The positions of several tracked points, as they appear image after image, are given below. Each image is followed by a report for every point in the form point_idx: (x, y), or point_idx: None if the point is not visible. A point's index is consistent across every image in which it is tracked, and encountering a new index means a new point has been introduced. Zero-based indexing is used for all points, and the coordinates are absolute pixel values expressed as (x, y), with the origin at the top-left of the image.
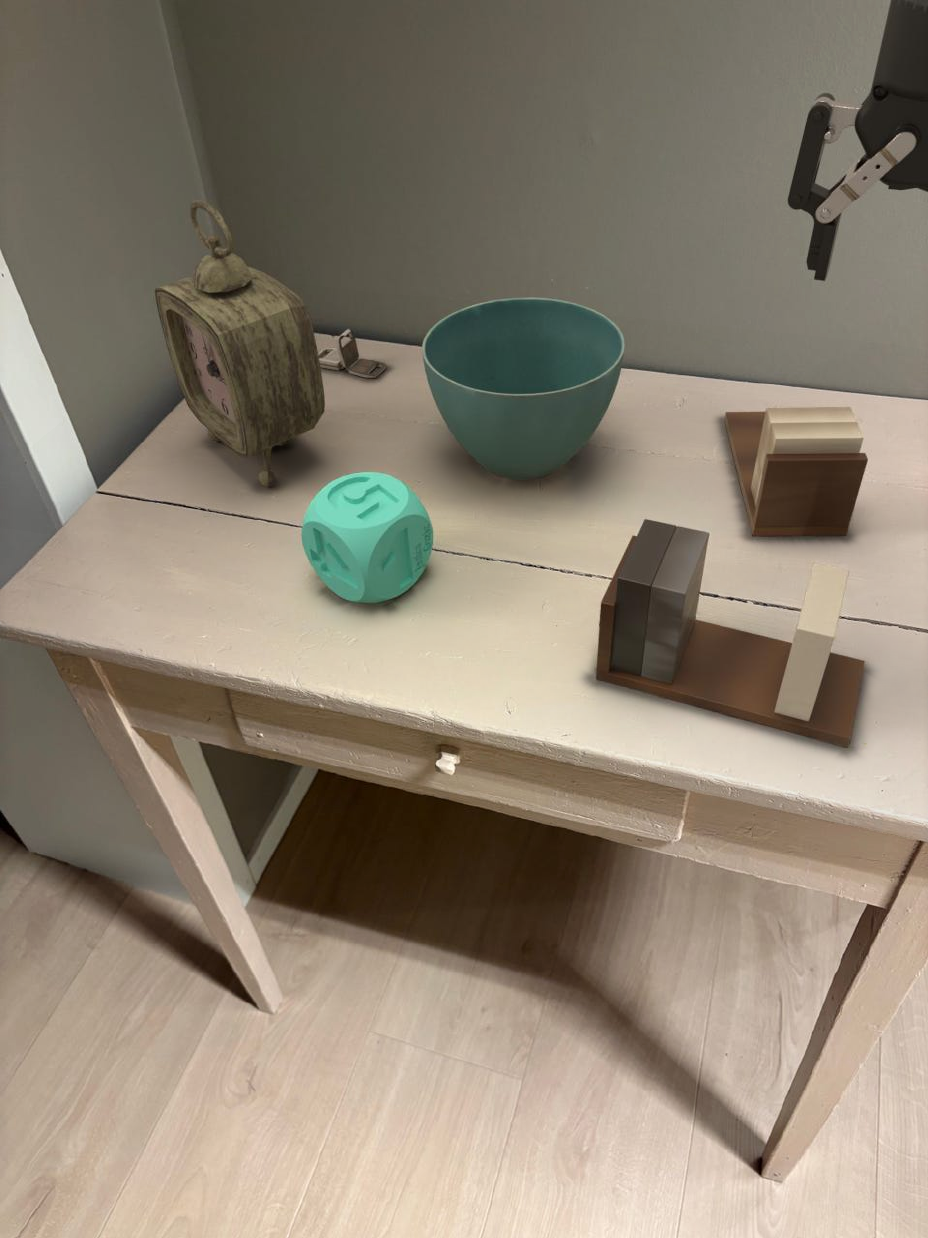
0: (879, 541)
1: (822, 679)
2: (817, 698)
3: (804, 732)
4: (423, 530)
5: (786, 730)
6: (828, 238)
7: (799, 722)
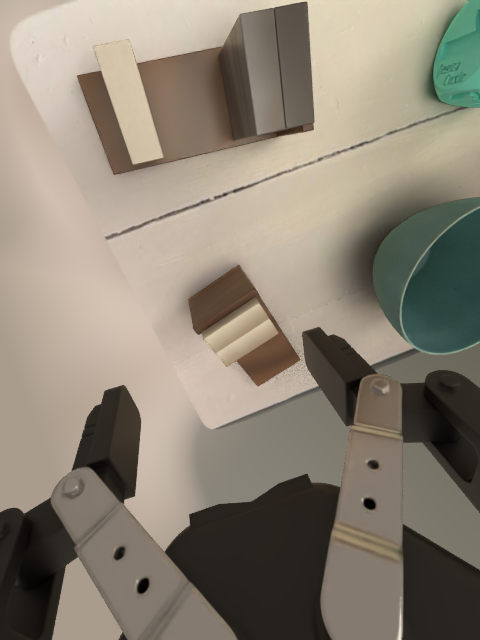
0: (168, 306)
1: None
2: None
3: None
4: (464, 73)
5: None
6: (341, 364)
7: None
